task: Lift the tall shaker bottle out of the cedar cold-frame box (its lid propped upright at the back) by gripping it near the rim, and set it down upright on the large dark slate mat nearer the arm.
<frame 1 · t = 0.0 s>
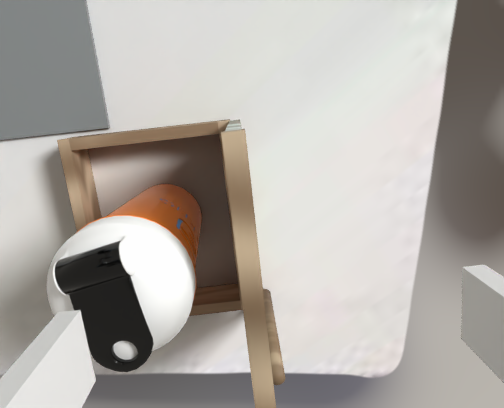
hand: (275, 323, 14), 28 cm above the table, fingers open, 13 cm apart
slate coaster: (26, 64, 38), on the table
shaker bottle: (167, 217, 42), resting in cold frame
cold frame: (166, 217, 42), on the table
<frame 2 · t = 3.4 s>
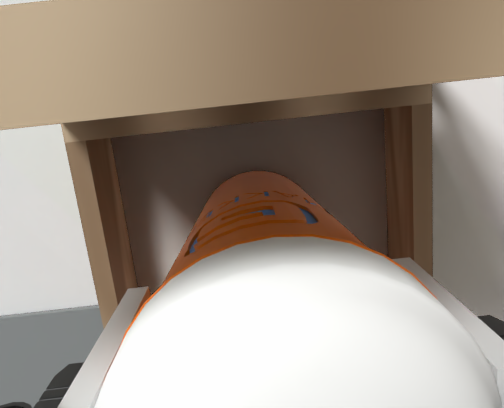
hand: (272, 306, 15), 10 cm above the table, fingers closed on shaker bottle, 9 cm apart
slate coaster: (37, 401, 28), on the table
shaker bottle: (258, 225, 26), resting in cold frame, touching gripper
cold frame: (258, 226, 26), on the table
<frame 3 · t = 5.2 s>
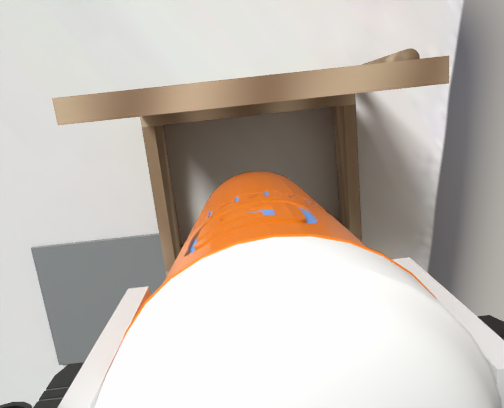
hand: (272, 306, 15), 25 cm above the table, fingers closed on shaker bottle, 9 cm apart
slate coaster: (110, 300, 43), on the table
shaker bottle: (258, 225, 26), point 15 cm above the table, touching gripper
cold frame: (255, 183, 40), on the table
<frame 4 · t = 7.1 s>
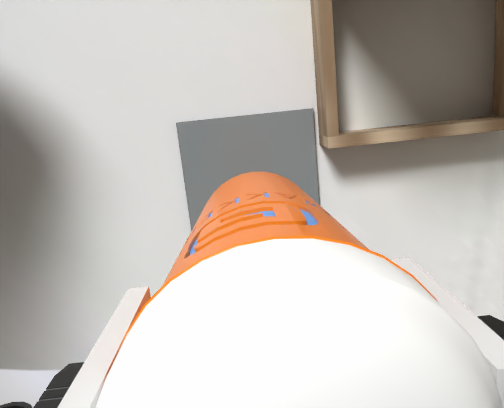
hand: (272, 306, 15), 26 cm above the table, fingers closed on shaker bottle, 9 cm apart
slate coaster: (251, 182, 41), on the table
shaker bottle: (258, 226, 26), point 16 cm above the table, touching gripper
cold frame: (410, 54, 39), on the table
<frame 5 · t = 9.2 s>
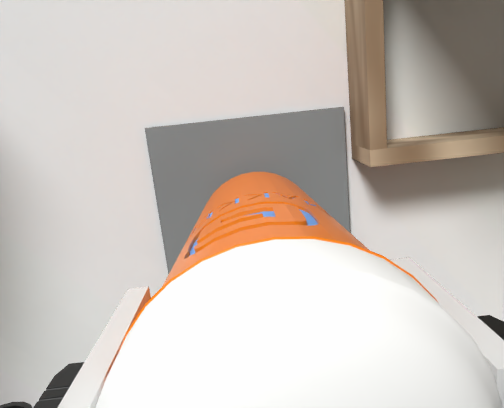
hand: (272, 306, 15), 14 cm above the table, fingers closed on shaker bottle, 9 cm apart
slate coaster: (254, 212, 29), on the table
shaker bottle: (258, 226, 26), point 3 cm above the table, touching gripper
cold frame: (485, 27, 27), on the table
when the fingers open (12 cm above the table, at t = 11.0 s): shaker bottle stays where it is, resting on slate coaster.
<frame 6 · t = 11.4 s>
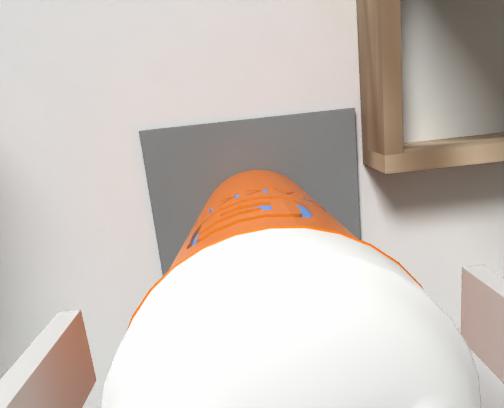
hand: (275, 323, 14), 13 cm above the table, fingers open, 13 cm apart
slate coaster: (257, 221, 27), on the table
shaker bottle: (257, 223, 27), resting on slate coaster
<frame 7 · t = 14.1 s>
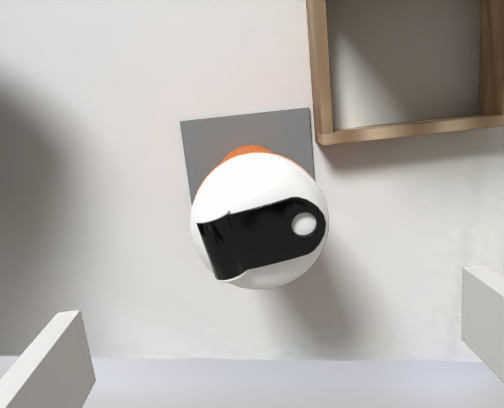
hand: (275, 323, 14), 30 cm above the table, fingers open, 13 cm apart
slate coaster: (251, 177, 43), on the table
shaker bottle: (251, 178, 43), resting on slate coaster
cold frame: (400, 56, 41), on the table
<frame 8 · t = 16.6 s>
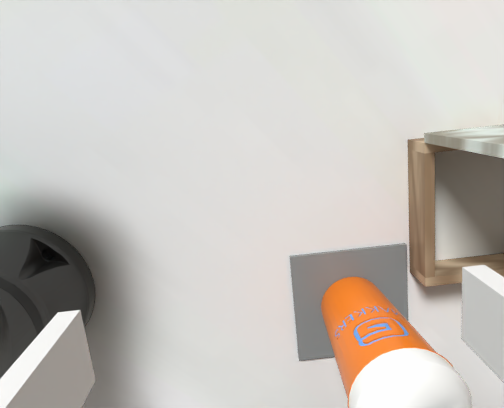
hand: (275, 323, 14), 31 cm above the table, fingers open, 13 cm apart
slate coaster: (350, 302, 48), on the table
shaker bottle: (350, 303, 48), resting on slate coaster
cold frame: (489, 199, 46), on the table
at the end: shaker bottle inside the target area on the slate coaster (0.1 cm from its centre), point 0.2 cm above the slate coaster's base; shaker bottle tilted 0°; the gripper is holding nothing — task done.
